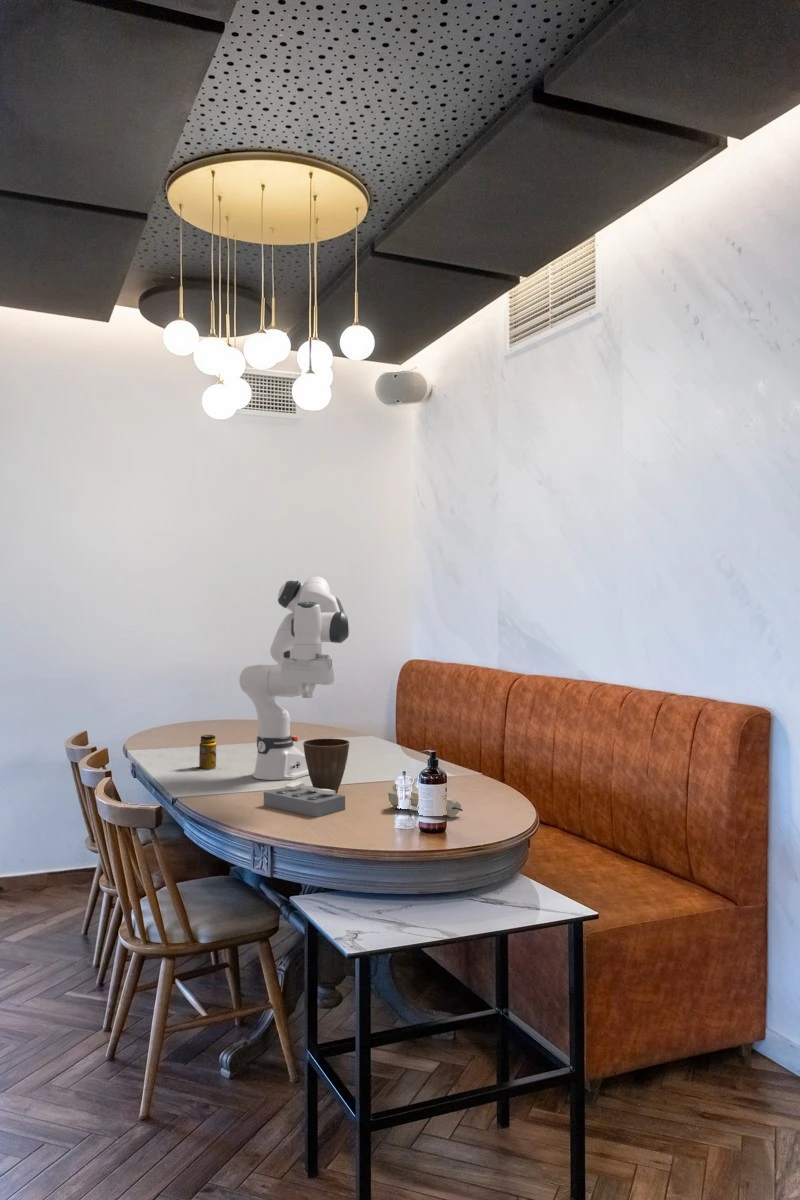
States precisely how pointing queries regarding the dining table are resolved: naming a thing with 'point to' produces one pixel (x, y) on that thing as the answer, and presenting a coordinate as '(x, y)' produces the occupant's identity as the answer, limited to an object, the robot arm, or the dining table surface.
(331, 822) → the dining table surface
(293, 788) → the rocker
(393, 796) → the faceted club
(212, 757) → the condiment
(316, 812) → the switch panel
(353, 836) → the dining table surface
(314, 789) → the rocker
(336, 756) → the plant pot
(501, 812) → the dining table surface
